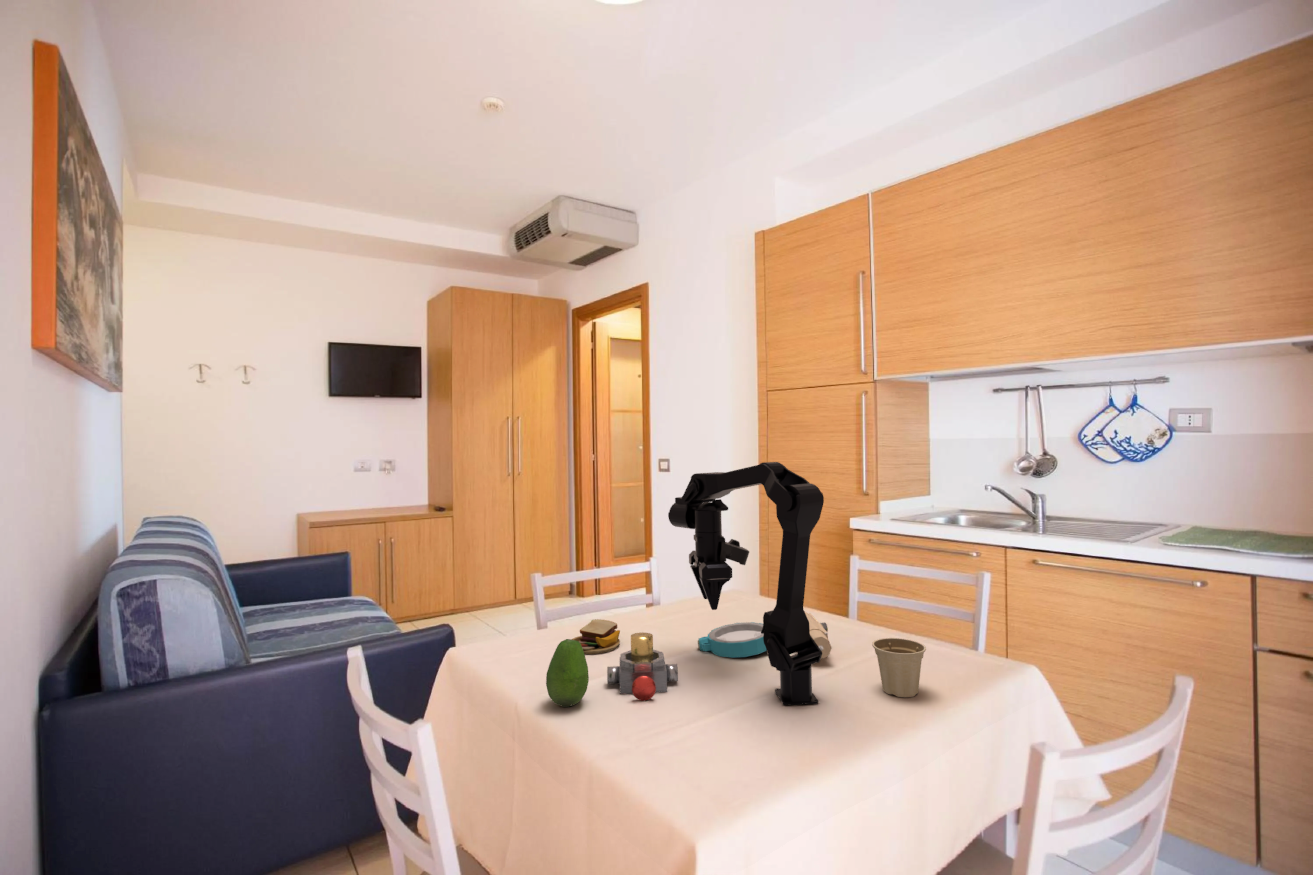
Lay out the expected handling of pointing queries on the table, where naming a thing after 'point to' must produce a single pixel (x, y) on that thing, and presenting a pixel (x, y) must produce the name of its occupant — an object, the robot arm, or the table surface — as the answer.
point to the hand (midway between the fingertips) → (710, 603)
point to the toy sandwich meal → (599, 636)
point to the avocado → (567, 674)
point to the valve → (642, 675)
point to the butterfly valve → (754, 639)
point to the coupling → (642, 647)
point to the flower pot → (899, 665)
